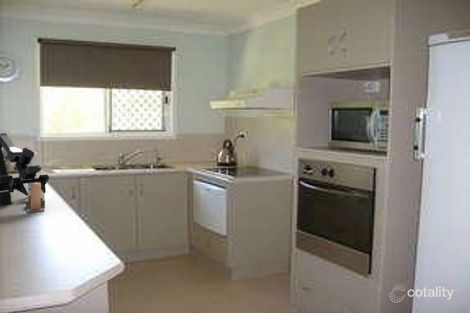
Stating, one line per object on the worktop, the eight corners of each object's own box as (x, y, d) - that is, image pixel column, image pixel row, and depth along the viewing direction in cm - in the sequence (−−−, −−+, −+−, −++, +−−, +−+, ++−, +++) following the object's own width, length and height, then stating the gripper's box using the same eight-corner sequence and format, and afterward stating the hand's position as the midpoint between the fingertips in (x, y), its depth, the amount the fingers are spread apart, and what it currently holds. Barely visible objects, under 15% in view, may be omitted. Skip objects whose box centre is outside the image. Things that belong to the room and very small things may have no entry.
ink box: (36, 200, 269) (35, 180, 268) (28, 200, 270) (27, 180, 269) (45, 198, 278) (44, 178, 277) (37, 198, 279) (36, 178, 278)
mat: (27, 210, 241) (27, 209, 241) (44, 208, 244) (44, 207, 244) (26, 213, 234) (26, 211, 234) (44, 211, 237) (44, 210, 237)
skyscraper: (35, 197, 280) (33, 150, 278) (24, 197, 282) (22, 150, 280) (43, 195, 288) (41, 149, 286) (32, 195, 290) (30, 149, 287)
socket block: (26, 206, 252) (26, 198, 252) (44, 205, 255) (44, 197, 255) (26, 209, 244) (25, 201, 243) (45, 207, 247) (44, 200, 247)
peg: (28, 209, 239) (29, 183, 238) (37, 208, 242) (37, 182, 241) (33, 210, 236) (34, 184, 235) (42, 209, 240) (42, 183, 239)
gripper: (11, 161, 232) (23, 185, 226) (46, 158, 247) (59, 181, 241) (3, 176, 238) (16, 200, 232) (39, 172, 252) (51, 195, 246)
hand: (36, 194), depth 238 cm, fingers open, 9 cm apart
